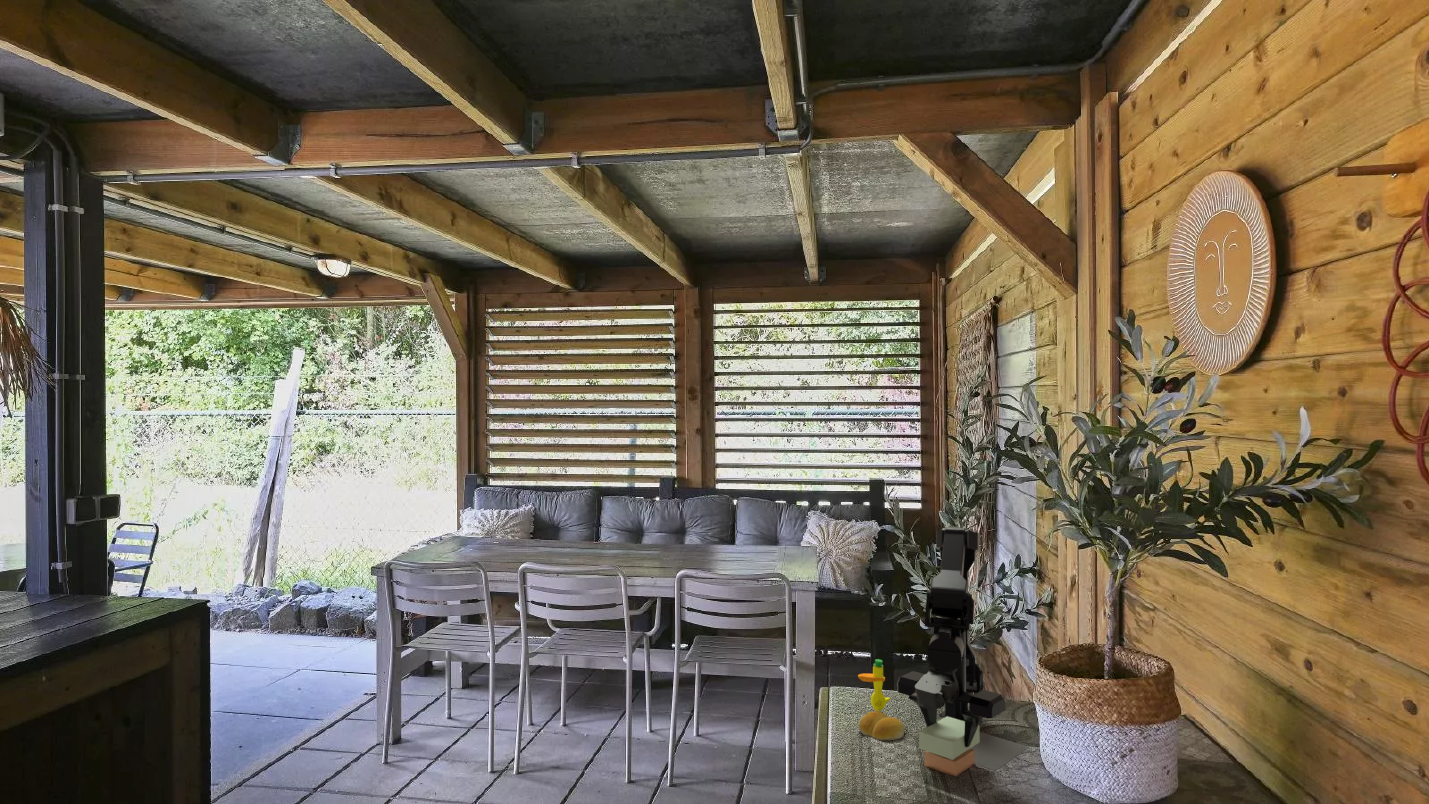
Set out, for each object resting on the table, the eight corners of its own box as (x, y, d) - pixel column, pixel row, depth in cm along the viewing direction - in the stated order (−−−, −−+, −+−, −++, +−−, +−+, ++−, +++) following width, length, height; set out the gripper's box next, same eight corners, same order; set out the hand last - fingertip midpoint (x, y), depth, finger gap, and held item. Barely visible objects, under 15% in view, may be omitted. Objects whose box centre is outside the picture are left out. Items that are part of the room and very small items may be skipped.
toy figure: (858, 718, 166) (857, 661, 166) (858, 712, 170) (858, 656, 170) (890, 721, 165) (890, 663, 165) (891, 715, 168) (890, 658, 168)
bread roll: (888, 747, 153) (888, 726, 153) (852, 733, 159) (852, 713, 159) (914, 735, 158) (914, 715, 158) (877, 722, 165) (877, 703, 165)
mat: (979, 734, 158) (979, 731, 158) (1029, 749, 151) (1029, 746, 151) (944, 756, 148) (944, 753, 148) (995, 773, 141) (995, 770, 141)
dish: (944, 756, 148) (944, 740, 148) (974, 766, 144) (974, 749, 144) (924, 768, 143) (924, 751, 143) (955, 779, 139) (955, 762, 139)
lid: (947, 732, 149) (946, 716, 149) (979, 742, 145) (979, 726, 145) (919, 748, 142) (919, 731, 142) (952, 759, 138) (952, 742, 138)
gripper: (880, 653, 145) (880, 739, 144) (976, 677, 131) (977, 772, 131) (912, 640, 152) (913, 721, 152) (1006, 662, 139) (1007, 751, 139)
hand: (949, 740), depth 144 cm, fingers closed on lid, 6 cm apart
